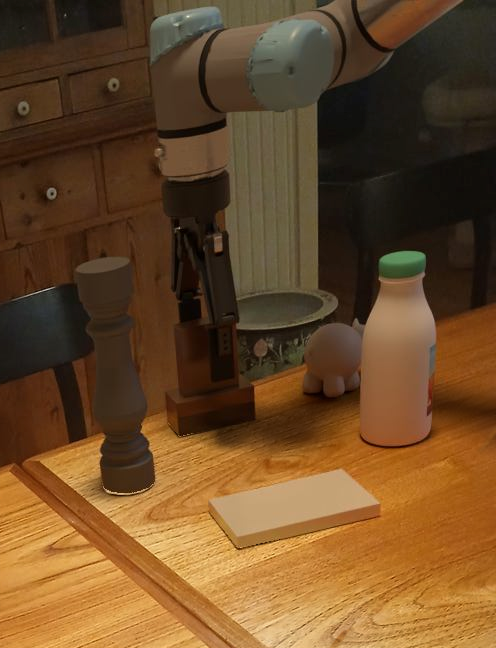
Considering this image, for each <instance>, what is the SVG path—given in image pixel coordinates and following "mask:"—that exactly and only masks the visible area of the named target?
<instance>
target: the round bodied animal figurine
mask: <svg viewBox="0 0 496 648" xmlns="http://www.w3.org/2000/svg"><path fill="white" fill-rule="evenodd" d="M365 325H366V324H361V323H360V322H359V319H358V318H357V317H355V318H354V320H353V321H352V325H351V326H350V325H348V324H345V323H341V322H331V323H328V324H325V325H322V326H320V327H319V328H317V329H316V330H315V331H314V332H313V333H312V334H311V335H310V336H309V338H308V339H307V341H306V343H305V347H304V353H303V356H304V357H303V358H304V364H305V367H306V372H305V374H304V376H303V379H302V382H301V389H302V391H303V392H304V393H307V394H318V393H320V392H321V391H322V390H323V395H324V396H325V397H326V398H337V397H340V396H342V395H343V394H344V393H345V392H351V391H355V390H357V389H358V388H359V387H360V385H361V377H360V375H359V372H358V371H359V370H358V369H359V367H361V356H362V341H363V334H364V329H365Z"/></svg>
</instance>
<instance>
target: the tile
mask: <svg viewBox="0 0 496 648" xmlns="http://www.w3.org/2000/svg"><path fill="white" fill-rule="evenodd" d="M207 501H208V512H209V514H210V515H211V517H212V518H213V519H214V520H215V521H216V523H217V524H218V525H219V527H220V528H221V530H222V531H223V530H224V531H225V532H224V531H223V532H224V533H225V535H226V534H227V535H228V536H227V535H226V536H227V537H228V539H229V540H230V539H231V540H232V541H233V542H234V544H235V545H236V546H235V545H234V544H233V545H234V546H235V548H236V547H237V548H240V547H244V546H245V547H246V546H250V545H254V546H257V545H256V544H258V545H260V544H259V543H263V544H266V543H265V542H267V543H270V542H269V541H271V542H275V541H279V539H280V540H284V539H288V538H292V537H296V536H300V535H305V534H308V533H309V534H310V533H314V532H317V531H321V530H327V529H330V528H334V527H338V526H344V525H346V524H347V525H348V524H351V523H355V522H356V523H357V522H359V521H364V520H368V519H372V518H378V517H380V516H381V509H382V508H381V506H382V505H381V504H382V503H381V501H379V500H378V499H377V498H376V497H375V496H374V495H372V493H370V492H369V491H368V490H366V488H364V487H363V486H362V485H361V484H360V483H359V482H358V481H357V480H356V479H355V478H354V477H352V476H351V475H350V474H349V473H347V472H346V471H345V470H344V469H343V468H340V469H334V470H330V471H326V472H322V473H317V474H313V475H309V476H305V477H300V478H296V479H291V480H287V481H283V482H279V483H275V484H270V485H266V486H261V487H257V488H253V489H248V490H245V491H241V492H235V493H231V494H227V495H224V496H219V497H214V498H211V499H208V500H207ZM231 540H230V541H231ZM274 540H275V541H274ZM232 541H231V542H232ZM233 542H232V543H233ZM250 547H251V546H250ZM237 548H236V549H237ZM246 548H247V547H246Z"/></svg>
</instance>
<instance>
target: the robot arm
mask: <svg viewBox="0 0 496 648" xmlns="http://www.w3.org/2000/svg"><path fill="white" fill-rule="evenodd" d="M463 1H464V0H333V1H331V2H330V3H328V4H326V5H324V6H320V7H316V8H314V9H311V10H308V11H304V12H302V13H301V12H300V13H298V14H293V15H291V16H287V17H282V18H280V19H277V20H273V21H269V22H265V23H259V24H253V25H247V26H241V27H235V28H226V27H225V25H224V23H223V17H222V12H221V10H220V9H219V7H217V6H205V7H204V6H203V7H198V8H192V9H187V10H186V9H185V10H182V11H177V12H173V13H168V14H165V15H164V14H163V15H162V16H159V17H157V18H155V19H154V21H153V22H152V23H151V25H150V28H149V48H150V49H149V55H150V56H149V57H150V63H149V70H150V74H151V81H152V90H153V100H154V109H155V110H154V111H155V122H156V135H157V143H158V147H157V148H155V149H154V150H153V154H154V157H155V158H158V159H159V167H160V174H161V175H162V176H163V177H165V178H164V179H163V180H162V182H161V184H160V187H161V200H162V211H163V213H164V215H165V216H167V217H168V218H170V219H169V221H170V228H171V261H170V262H171V263H170V264H171V265H170V266H171V267H170V269H171V270H170V273H171V274H170V289H171V293H175V299H176V301H177V308H178V321H179V322H178V323H183V322H187V321H191V320H196V319H200V318H203V315H202V313H203V312H202V300H201V298H200V297H201V296H203V299H204V303H205V307H206V312H207V317H209V320H210V323H208V324H206V325H205V330H206V331H207V330H208V345H209V361H210V376H211V382H212V383H215V382H220V381H224V380H228V379H233V378H235V372H234V352H233V332H232V325H233V324H236V325H237V324H239V323H240V319H241V318H240V315H239V314H240V313H239V307H238V300H237V294H236V287H235V281H234V274H233V273H234V272H233V266H232V261H231V254H230V234H229V232H228V230H222V231H221V228H220V227H219V226H218V222H217V219H216V217H217V214H218V213H219V212H220V211H224V210H225V209H226V208H228V207H229V206H230V203H231V182H230V181H231V180H230V173H229V171H228V170H227V169H226V167H227V166H228V165H229V163H230V148H229V147H230V145H229V129H228V122H227V115H228V113H244V112H246V113H247V112H248V113H249V112H274V113H285V112H287V111H289V110H297V109H305V108H308V107H311V106H312V105H314V104H316V103H317V102H318V101H319V99H320V97H321V96H322V94H323V93H324V92H326V91H327V90H330V89H333V88H336V87H339V86H342V85H345V84H350V83H353V82H358V81H361V80H363V79H365V78H366V77H368V76H370V75H372V74H373V73H374V72H375V73H376V72H377V71H379V70H380V69H381V68H383V67H384V66H386V64H387V63H388V62H389V61H390V59H391V58H392V56H393V55H394V53H395V51H396V49H398V48H399V47H401V46H402V45H403V44H405V43H406V42H407V41H409V40H410V39H412V38H413V37H414V36H416V35H417V34H418V33H420V32H421V31H422V30H424V29H425V28H427V27H428V26H430V25H431V24H432V23H434V22H435V21H437V20H438V19H440V18H441V17H442V16H443V15H445V14H446V13H448V12H449V11H450V10H452V9H454V8H455V7H456V6H458V5H459V4H461V3H462V2H463ZM199 285H201V286H199ZM224 313H225V315H223V314H224Z"/></svg>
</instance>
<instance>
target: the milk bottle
mask: <svg viewBox="0 0 496 648" xmlns="http://www.w3.org/2000/svg"><path fill="white" fill-rule="evenodd" d="M426 266H427V258H426V254H425V253H423V252H421V251H415V250H402V251H401V250H400V251H396V252H391V253H388V254H385V255H383V256H381V258H379V261H378V274H379V275H378V281H380V287H379V291H378V294H377V298H376V300H375V303H374V304H373V307H372V309H371V312H370V313H369V316H368V318H367V320H366V323H365V324H364V325H365V329H364V334H363V341H362V356H361V364H360V385H359V387H360V391H359V393H360V394H359V434H360V436H361V438H362V440H364V441H365V442H367V443H370V444H373V445H377V446H381V447H382V446H383V447H400V446H402V447H403V446H407V445H412V444H416V443H418V442H421V441H423V440H425V438H426V437H428V435H429V433H430V431H431V428H432V421H433V420H432V419H433V402H434V390H435V389H434V388H435V373H436V372H435V371H436V355H437V354H436V353H437V349H436V348H437V330H436V322H435V318H434V315H433V313H432V310H431V308H430V306H429V303H428V301H427V298H426V295H425V292H424V286H423V278H424V277H425V276H426V272H425V270H426Z"/></svg>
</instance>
